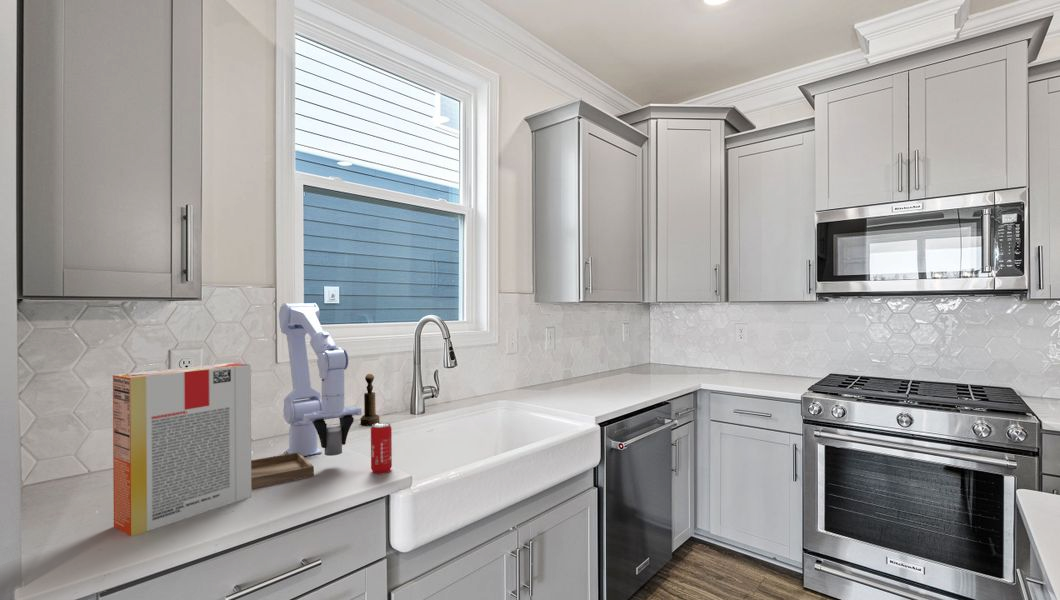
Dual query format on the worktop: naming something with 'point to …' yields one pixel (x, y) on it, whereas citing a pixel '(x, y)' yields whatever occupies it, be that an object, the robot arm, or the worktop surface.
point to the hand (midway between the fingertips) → (333, 445)
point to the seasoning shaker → (333, 440)
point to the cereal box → (180, 443)
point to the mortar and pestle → (369, 404)
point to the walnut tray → (279, 469)
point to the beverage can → (381, 448)
